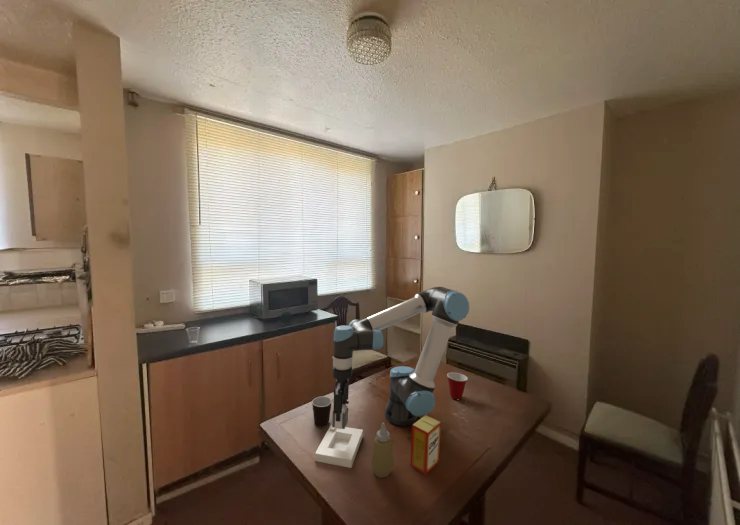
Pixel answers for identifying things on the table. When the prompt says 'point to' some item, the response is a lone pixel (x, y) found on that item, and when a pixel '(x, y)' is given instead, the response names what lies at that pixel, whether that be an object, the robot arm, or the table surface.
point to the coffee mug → (321, 411)
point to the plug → (344, 418)
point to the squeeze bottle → (382, 453)
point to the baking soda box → (425, 444)
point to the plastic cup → (456, 384)
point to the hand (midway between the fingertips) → (340, 423)
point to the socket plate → (339, 446)
